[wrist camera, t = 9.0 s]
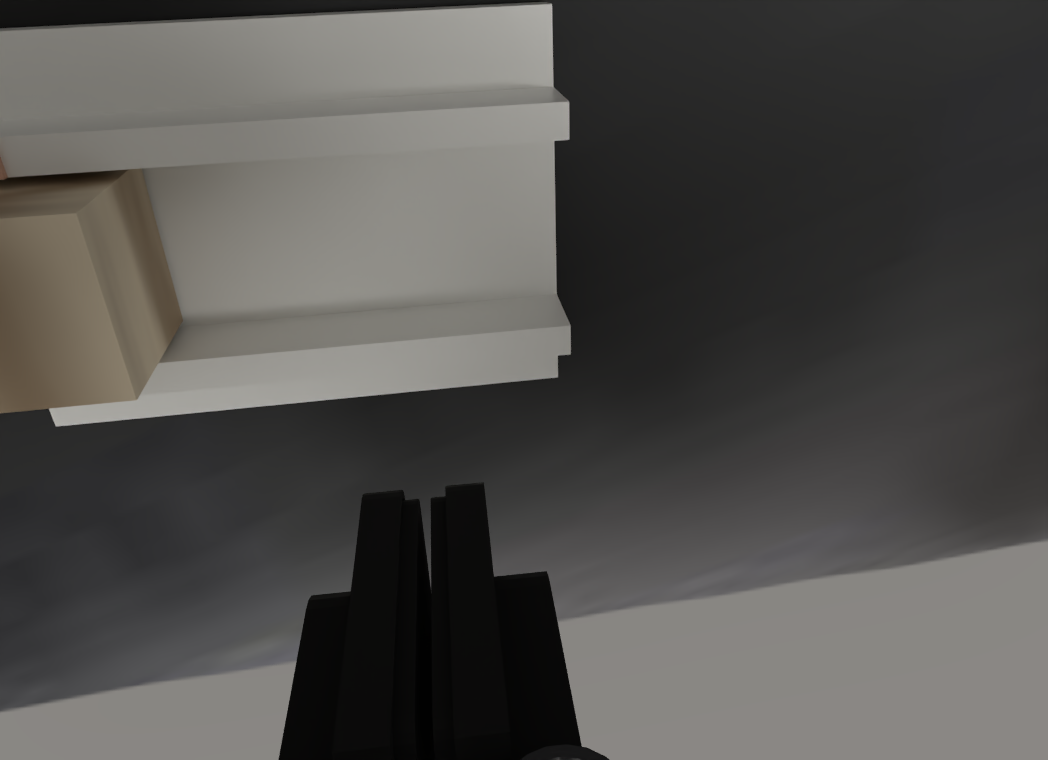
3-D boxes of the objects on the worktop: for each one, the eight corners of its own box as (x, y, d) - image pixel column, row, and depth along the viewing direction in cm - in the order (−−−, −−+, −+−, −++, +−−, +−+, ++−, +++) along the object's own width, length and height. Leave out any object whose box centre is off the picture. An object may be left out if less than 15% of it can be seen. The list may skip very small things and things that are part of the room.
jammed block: (139, 160, 22) (76, 213, 18) (183, 320, 25) (137, 400, 20) (-48, 173, 22) (-159, 230, 17) (16, 334, 24) (-68, 419, 20)
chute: (546, 2, 23) (570, 10, 20) (553, 364, 29) (572, 417, 26) (-77, 32, 21) (-162, 48, 18) (66, 411, 27) (22, 474, 24)
